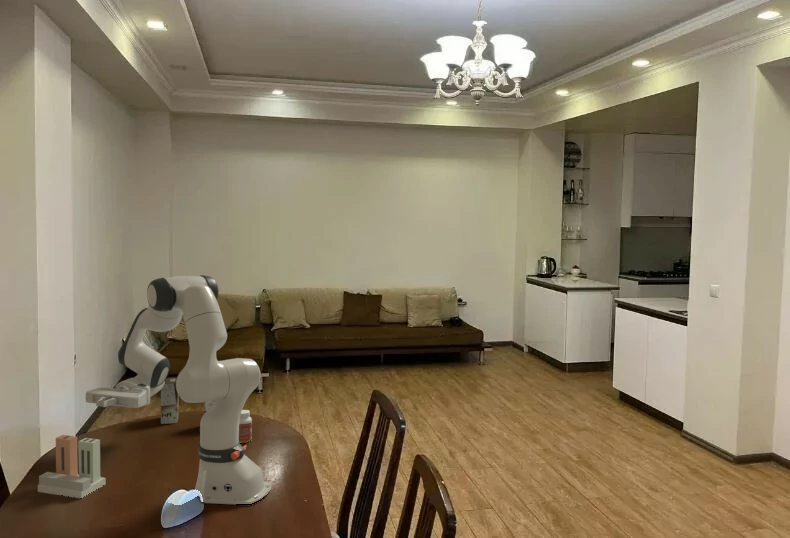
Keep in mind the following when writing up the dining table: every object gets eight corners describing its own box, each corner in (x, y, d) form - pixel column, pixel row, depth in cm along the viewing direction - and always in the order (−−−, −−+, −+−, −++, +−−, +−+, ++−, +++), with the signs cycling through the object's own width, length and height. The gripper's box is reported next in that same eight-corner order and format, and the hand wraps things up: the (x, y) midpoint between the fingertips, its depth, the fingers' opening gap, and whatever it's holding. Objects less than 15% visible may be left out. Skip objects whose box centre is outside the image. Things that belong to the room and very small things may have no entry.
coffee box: (178, 423, 244) (177, 383, 243) (160, 424, 242) (160, 383, 241) (178, 415, 253) (178, 376, 251) (161, 416, 251) (161, 377, 249)
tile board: (105, 484, 188) (105, 469, 188) (81, 498, 179) (81, 483, 178) (63, 478, 192) (63, 463, 192) (37, 491, 182) (37, 476, 182)
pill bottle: (254, 442, 226) (254, 412, 225) (237, 445, 223) (237, 415, 222) (248, 437, 231) (248, 408, 230) (231, 440, 228) (232, 410, 227)
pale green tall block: (100, 478, 188) (99, 439, 187) (92, 482, 184) (92, 443, 183) (86, 476, 189) (85, 437, 188) (78, 480, 186) (77, 441, 185)
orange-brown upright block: (77, 475, 189) (77, 436, 188) (69, 479, 186) (69, 440, 185) (63, 473, 191) (63, 434, 190) (55, 477, 188) (55, 438, 186)
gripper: (102, 381, 217) (72, 391, 203) (153, 386, 212) (127, 397, 199) (102, 398, 217) (72, 410, 204) (153, 404, 212) (127, 417, 199)
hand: (100, 404), depth 201 cm, fingers closed
